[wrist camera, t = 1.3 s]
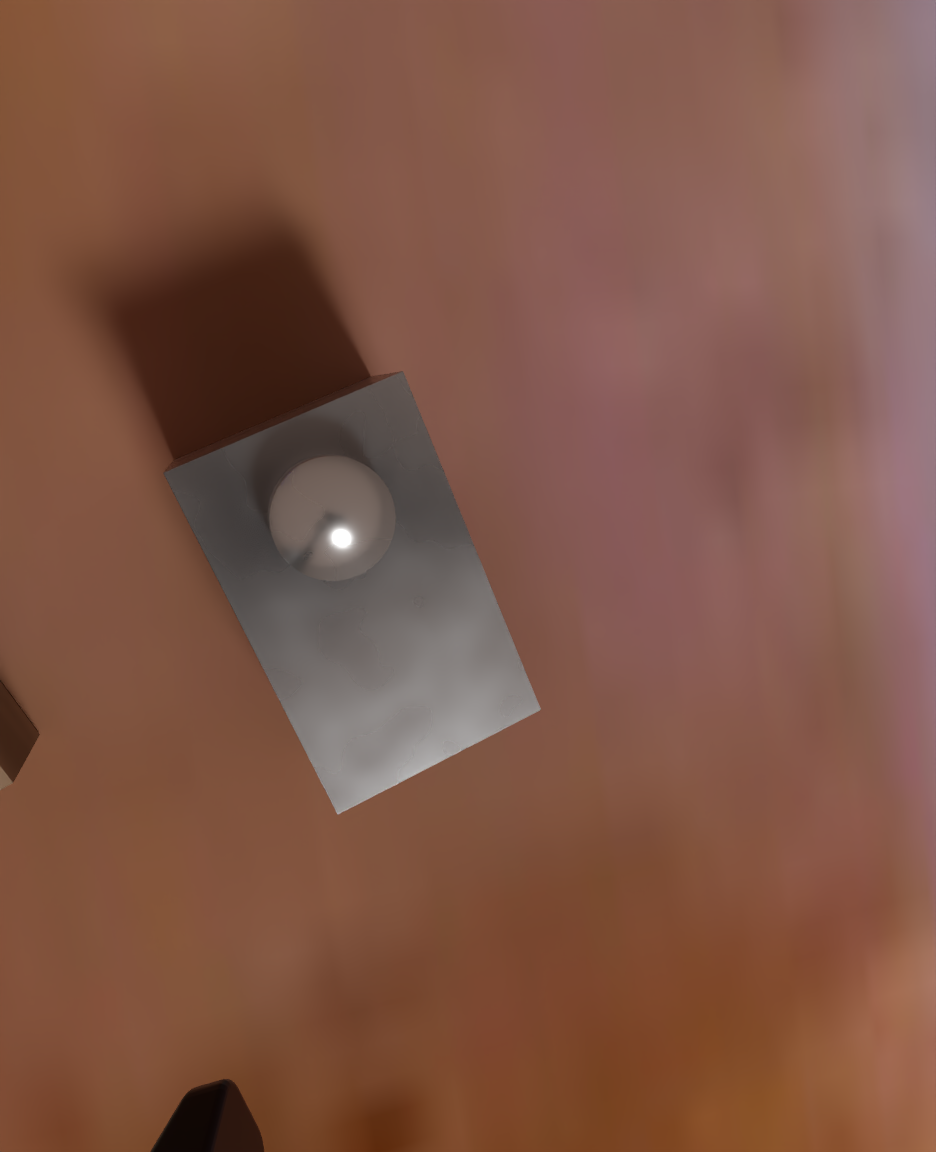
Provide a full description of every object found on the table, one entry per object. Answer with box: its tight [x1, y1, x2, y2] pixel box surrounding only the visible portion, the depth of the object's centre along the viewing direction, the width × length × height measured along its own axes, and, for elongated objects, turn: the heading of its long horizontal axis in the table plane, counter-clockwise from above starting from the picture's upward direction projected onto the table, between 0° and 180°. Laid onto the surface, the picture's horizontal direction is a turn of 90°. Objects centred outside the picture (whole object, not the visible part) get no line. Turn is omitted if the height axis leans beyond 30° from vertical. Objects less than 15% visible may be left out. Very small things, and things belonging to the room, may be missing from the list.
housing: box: [164, 371, 541, 814], centre depth 19 cm, size 5×8×5 cm, turn 21°
